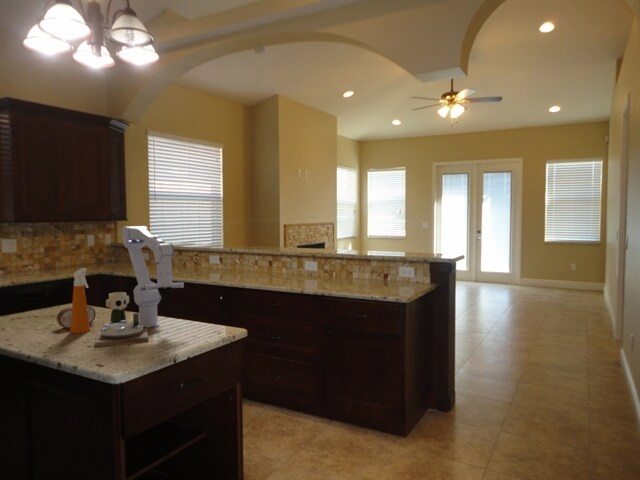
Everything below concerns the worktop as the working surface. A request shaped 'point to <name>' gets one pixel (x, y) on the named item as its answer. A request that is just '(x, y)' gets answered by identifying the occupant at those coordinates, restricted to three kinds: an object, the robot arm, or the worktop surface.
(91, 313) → the tin
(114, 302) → the character mug
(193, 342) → the worktop surface
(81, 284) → the spray bottle
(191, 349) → the worktop surface
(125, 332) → the grey disc with blocks
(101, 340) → the base board
